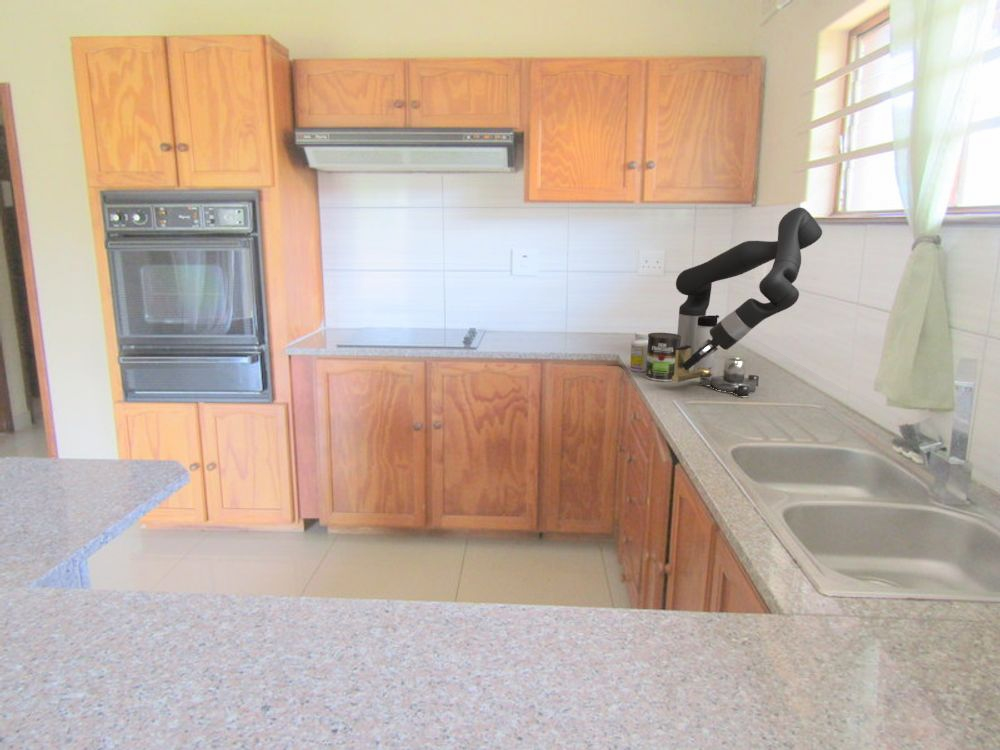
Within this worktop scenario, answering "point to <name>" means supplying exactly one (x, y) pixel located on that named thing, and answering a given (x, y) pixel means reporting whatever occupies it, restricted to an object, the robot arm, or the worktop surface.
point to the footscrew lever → (683, 374)
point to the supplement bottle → (639, 352)
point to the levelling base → (728, 385)
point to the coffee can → (661, 356)
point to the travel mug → (703, 335)
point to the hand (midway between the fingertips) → (684, 367)
